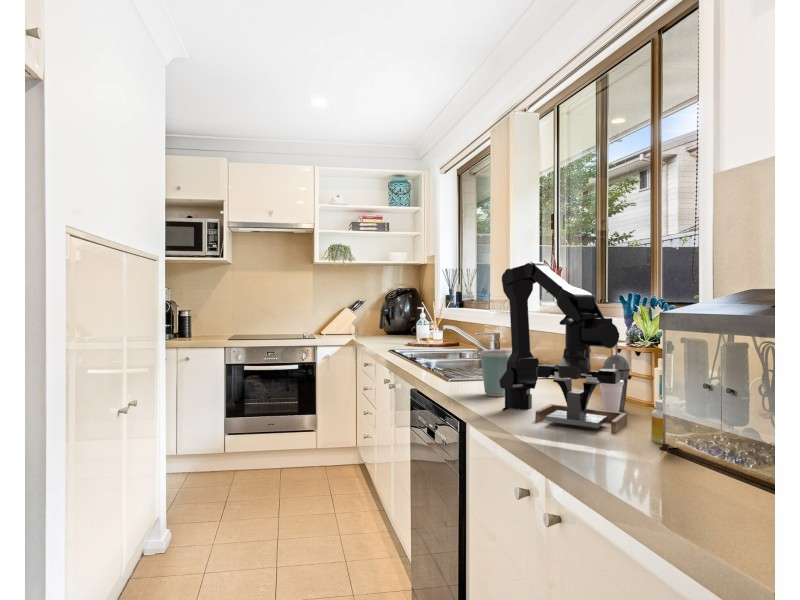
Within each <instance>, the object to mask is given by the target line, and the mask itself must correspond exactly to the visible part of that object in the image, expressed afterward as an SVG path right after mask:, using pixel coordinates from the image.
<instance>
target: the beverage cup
mask: <svg viewBox="0 0 800 600" xmlns="http://www.w3.org/2000/svg"><path fill="white" fill-rule="evenodd" d="M618 344H619V341H618V342H617V344H616V345H615V354H612V355H610V356H608V357H607V358H606V359H605V360H604V362H603V366H602V369H613V364H615V370H618V371H619V372H620V380H623V381H624V385H623V387H622V394H621V401H620V408H619V412H623V411H625V406H626V399H627V390H628V380H629V376H630V370H631V369H630V364H629V361H628V360H627V359H626V358H625V357H624V356H622V355H620V354H618V353H619V352H618V350H619V349H618V347H619V345H618Z"/></svg>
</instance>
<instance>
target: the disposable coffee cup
mask: <svg viewBox="0 0 800 600" xmlns="http://www.w3.org/2000/svg"><path fill="white" fill-rule="evenodd" d="M511 353H512V348H510V349H509V348H507V349H484V350H482V351H480V355H479V356H480V360H481V361H480V362H481V370H482V378H483V386H484V393H485V395H486V396H489V397H505V389H503V388H501V387H500V382H499V380H500V379H501V377H502V376H503V375H504V373H505V372H506V368H507V361H508V359H509V357H510V355H511Z"/></svg>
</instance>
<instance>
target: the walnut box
mask: <svg viewBox="0 0 800 600" xmlns="http://www.w3.org/2000/svg"><path fill="white" fill-rule="evenodd" d="M557 410H562V411H567V405H563V404H561V405H560V404H555V403H551V404H547V405H546V406H544V407H541V408H540V409H538V410H535V419H534V421H535V422H537V423H543V424H550V425H558V426H563V427H564V426H566V427H571V428H578V429H587V430H593V431H600V432H607V433H612V434H613V433H614V434H615V433H616V434H617V432H619V431H620V430H621V429H622V428H624V427H625V426H626V425H627V424H628V413H627V412H621V411H619V412H612V411H604V410H603V409H594V408H588V407H587V411H586V414H594V415H602V416H607V422H605V423H604V424H603V425H601V426H600V427H599V428H592V427H585V426H578V425H570V424H563V423H556V422H549V421H546V416H547V415H549V414H551V413H553V412H555V411H557Z"/></svg>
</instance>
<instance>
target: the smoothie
mask: <svg viewBox="0 0 800 600" xmlns="http://www.w3.org/2000/svg"><path fill="white" fill-rule="evenodd" d="M613 369H615V364H613ZM623 385H624V381H623V380H620V382H618V383H616V384H606V383H601V384H599V386H600V395H601V403H602V404H601V405H602V410H604V411H612V412H620V411H619V408H620V401H621V394H622V387H623Z"/></svg>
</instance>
